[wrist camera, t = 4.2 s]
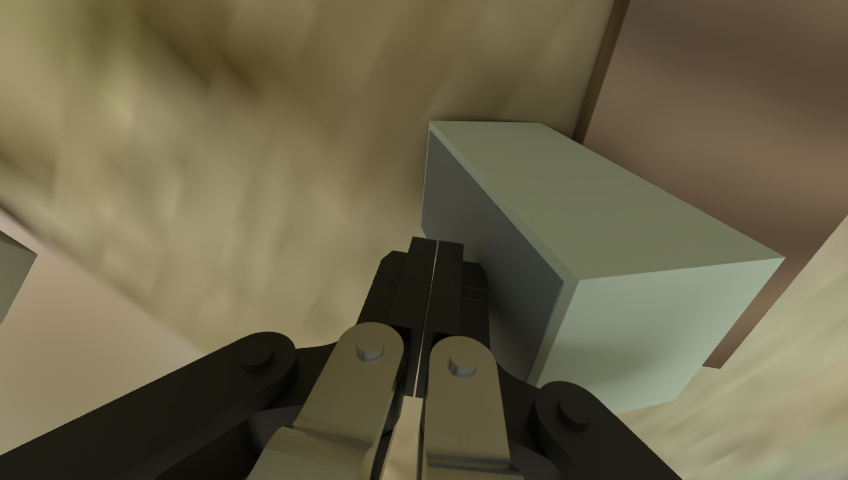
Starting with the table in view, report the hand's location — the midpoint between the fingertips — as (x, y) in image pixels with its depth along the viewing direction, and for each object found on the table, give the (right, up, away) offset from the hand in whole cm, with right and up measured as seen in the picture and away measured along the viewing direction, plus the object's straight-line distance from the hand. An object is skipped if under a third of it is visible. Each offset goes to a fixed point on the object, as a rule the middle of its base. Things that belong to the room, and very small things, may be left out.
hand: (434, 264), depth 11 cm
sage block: (+2, +4, +5) cm, 7 cm away
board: (+11, +3, +6) cm, 13 cm away
